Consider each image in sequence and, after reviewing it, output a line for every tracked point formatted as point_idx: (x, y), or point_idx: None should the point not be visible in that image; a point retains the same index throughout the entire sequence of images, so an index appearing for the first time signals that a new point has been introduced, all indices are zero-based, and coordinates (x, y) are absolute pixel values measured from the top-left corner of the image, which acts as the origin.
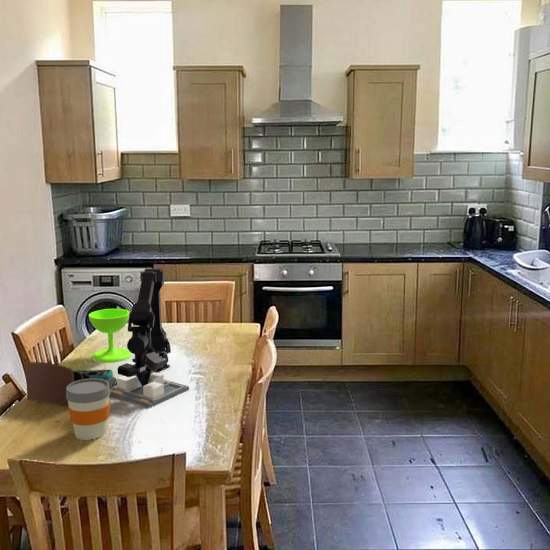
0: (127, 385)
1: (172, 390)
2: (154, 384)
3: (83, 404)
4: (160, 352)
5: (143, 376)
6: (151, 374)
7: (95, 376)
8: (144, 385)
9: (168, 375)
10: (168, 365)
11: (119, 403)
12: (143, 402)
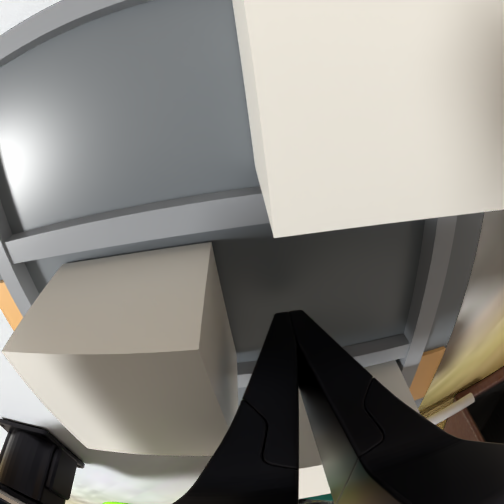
0: (401, 399)
1: (52, 79)
2: (399, 72)
3: None
4: (13, 497)
5: (423, 429)
6: (133, 442)
7: (321, 498)
8: (319, 327)
9: (8, 380)
10: (4, 426)
11: (498, 257)
12: None
